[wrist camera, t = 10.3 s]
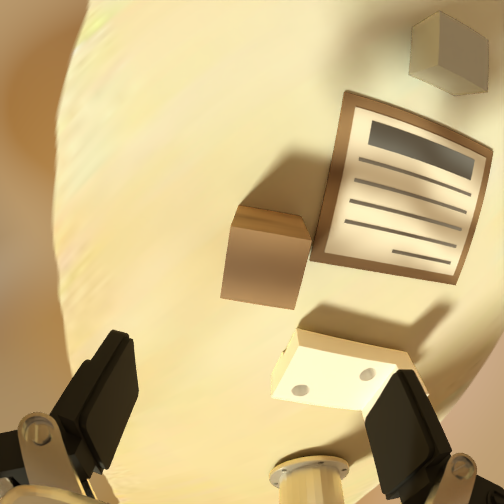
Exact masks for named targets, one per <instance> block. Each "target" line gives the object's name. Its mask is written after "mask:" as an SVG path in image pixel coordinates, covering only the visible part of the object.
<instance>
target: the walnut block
mask: <svg viewBox="0 0 504 504" xmlns="http://www.w3.org/2000/svg"><path fill="white" fill-rule="evenodd" d="M311 243H312V239H311V237H310V235H309V233H308V231H307V228H306V226H305V224H304V222H303V220H302V217H301V216H297V215H292V214H287V213H281V212H276V211H270V210H264V209H259V208H253V207H247V206H241V205H239V206H238V208H237V211H236V214H235V216H234V219H233V222H232V224H231V228H230V234H229V241H228V248H227V254H226V261H225V268H224V275H223V282H222V289H221V297H220V298H223V299H229V300H234V301H240V302H246V303H252V304H259V305H265V306H271V307H278V308H284V309H291V310H294V308H295V304H296V301H297V297H298V293H299V290H300V286H301V282H302V278H303V275H304V271H305V267H306V263H307V259H308V255H309V251H310V247H311Z"/></svg>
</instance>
